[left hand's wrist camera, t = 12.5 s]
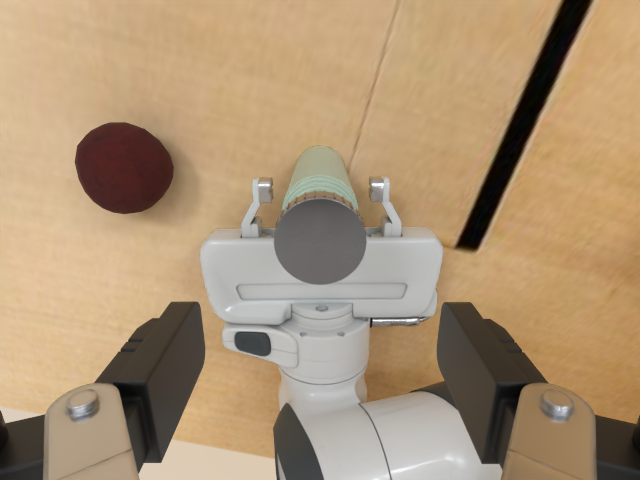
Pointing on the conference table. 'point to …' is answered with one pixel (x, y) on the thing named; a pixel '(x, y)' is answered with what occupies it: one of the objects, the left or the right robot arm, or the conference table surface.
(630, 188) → the conference table surface
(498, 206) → the conference table surface
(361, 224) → the cap
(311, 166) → the bottle
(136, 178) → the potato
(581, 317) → the conference table surface
